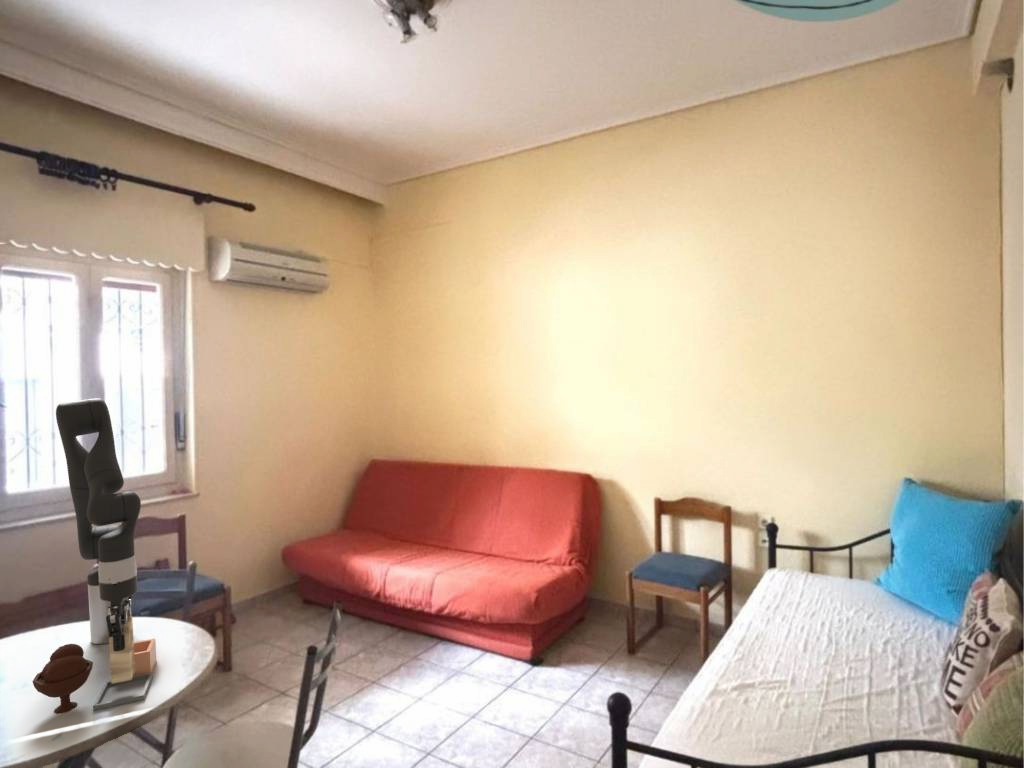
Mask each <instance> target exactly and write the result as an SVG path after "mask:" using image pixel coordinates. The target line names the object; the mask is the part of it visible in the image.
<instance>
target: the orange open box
mask: <svg viewBox="0 0 1024 768" xmlns="http://www.w3.org/2000/svg"><path fill="white" fill-rule="evenodd" d="M134 659H135V673H134V675H133V676H136V675H141V674H146V673H151V672H154V668H155V667H156V664H157V661H158V660H157V645H156V638H151V639H150V638H148V639H144V640H140V641H134Z"/></svg>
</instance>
